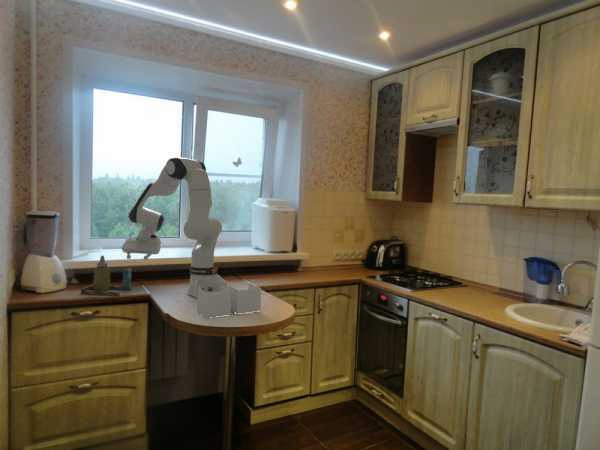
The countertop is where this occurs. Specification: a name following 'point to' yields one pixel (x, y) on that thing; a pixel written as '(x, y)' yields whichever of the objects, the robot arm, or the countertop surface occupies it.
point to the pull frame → (111, 286)
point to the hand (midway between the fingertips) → (136, 258)
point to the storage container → (228, 301)
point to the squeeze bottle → (102, 276)
